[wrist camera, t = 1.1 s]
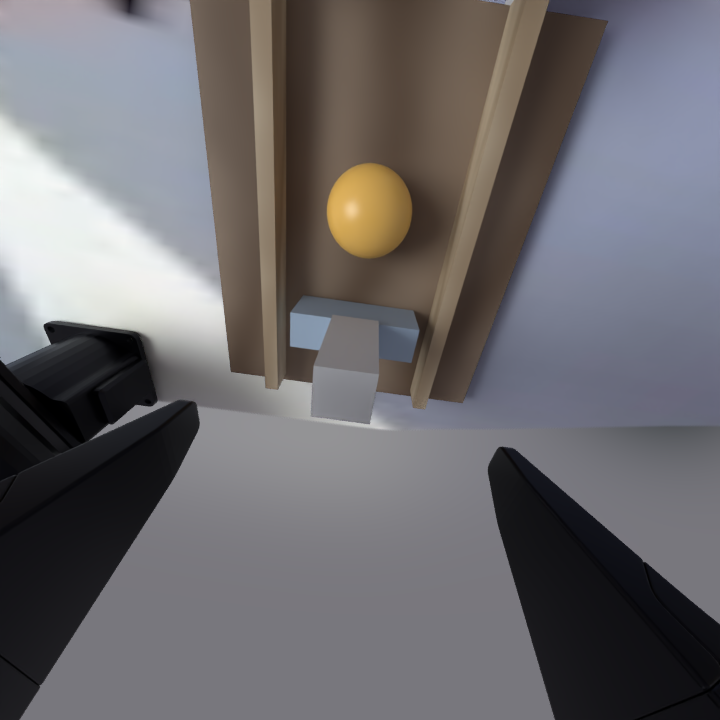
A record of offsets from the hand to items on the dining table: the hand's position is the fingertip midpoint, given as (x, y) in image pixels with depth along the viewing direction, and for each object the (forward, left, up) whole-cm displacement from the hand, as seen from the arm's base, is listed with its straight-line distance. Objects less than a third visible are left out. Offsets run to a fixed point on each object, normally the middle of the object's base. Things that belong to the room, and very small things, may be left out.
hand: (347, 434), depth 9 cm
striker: (0, -1, -11) cm, 11 cm away
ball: (0, +5, -9) cm, 11 cm away
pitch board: (0, +4, -12) cm, 13 cm away
